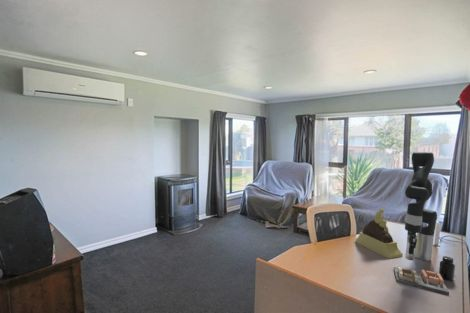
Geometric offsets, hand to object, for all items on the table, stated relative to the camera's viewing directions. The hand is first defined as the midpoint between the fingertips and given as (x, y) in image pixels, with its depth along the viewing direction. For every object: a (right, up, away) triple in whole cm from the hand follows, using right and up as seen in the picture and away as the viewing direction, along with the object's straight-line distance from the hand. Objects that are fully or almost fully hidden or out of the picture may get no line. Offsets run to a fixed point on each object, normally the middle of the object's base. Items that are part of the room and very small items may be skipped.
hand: (410, 252), depth 146 cm
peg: (0, -4, 0) cm, 4 cm away
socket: (+12, -15, 0) cm, 19 cm away
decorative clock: (+5, -13, +42) cm, 45 cm away
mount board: (+5, -16, +1) cm, 17 cm away
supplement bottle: (+24, -17, +6) cm, 30 cm away
